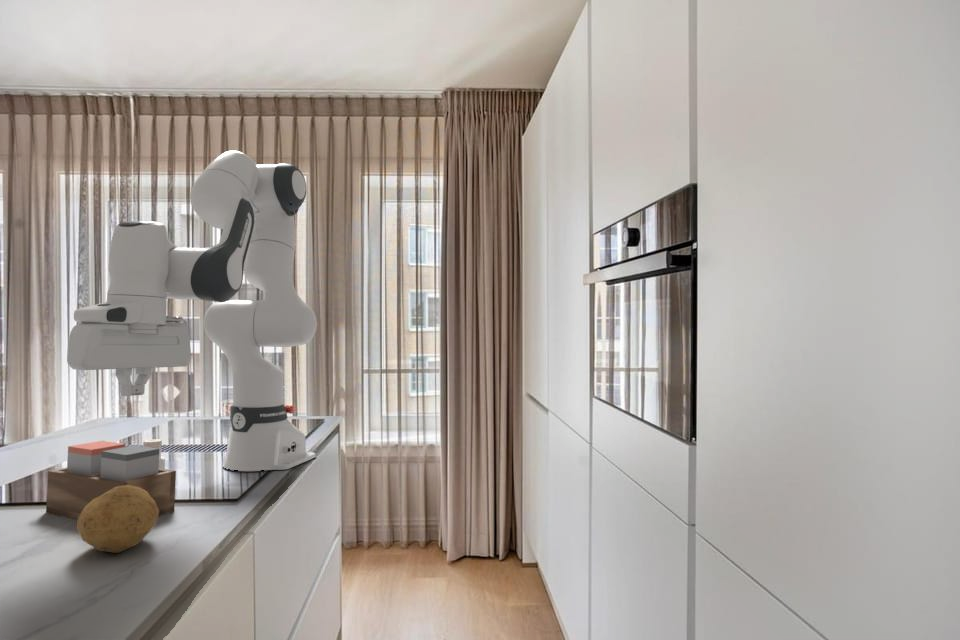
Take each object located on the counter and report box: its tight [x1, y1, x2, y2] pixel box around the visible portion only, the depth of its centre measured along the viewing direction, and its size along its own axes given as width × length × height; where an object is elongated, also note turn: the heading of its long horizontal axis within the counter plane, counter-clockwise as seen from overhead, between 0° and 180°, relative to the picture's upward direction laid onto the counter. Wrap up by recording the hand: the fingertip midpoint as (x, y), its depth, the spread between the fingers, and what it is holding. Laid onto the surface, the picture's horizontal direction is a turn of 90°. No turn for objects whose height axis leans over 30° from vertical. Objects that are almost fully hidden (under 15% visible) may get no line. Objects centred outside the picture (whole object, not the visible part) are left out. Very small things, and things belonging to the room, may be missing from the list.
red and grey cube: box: [66, 440, 126, 475], centre depth 100 cm, size 6×6×6 cm
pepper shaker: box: [142, 438, 166, 469], centre depth 113 cm, size 4×4×10 cm
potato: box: [76, 485, 159, 554], centre depth 82 cm, size 10×14×8 cm
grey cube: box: [100, 445, 159, 482], centre depth 97 cm, size 6×6×6 cm
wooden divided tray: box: [45, 466, 177, 520], centre depth 98 cm, size 10×18×7 cm, turn 68°
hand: (132, 395), depth 97 cm, fingers closed
